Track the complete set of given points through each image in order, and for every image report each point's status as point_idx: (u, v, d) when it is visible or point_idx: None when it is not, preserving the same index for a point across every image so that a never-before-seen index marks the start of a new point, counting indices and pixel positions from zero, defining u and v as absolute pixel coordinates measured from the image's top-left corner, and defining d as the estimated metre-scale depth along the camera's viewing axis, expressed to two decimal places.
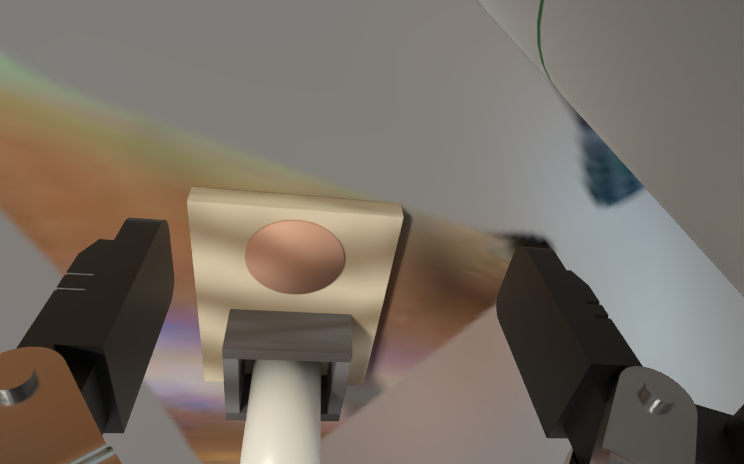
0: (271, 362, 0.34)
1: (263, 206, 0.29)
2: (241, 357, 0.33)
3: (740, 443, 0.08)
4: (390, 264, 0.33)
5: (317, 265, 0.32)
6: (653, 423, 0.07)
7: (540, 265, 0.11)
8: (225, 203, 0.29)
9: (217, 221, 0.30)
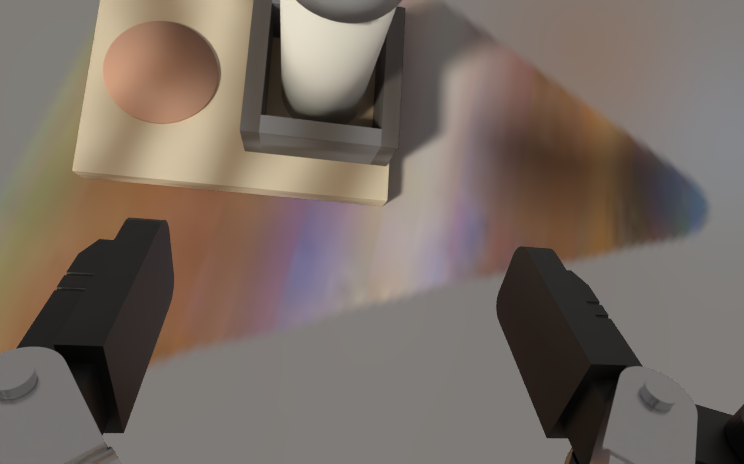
0: (284, 84, 0.27)
1: (85, 97, 0.28)
2: (257, 110, 0.26)
3: (740, 443, 0.08)
4: None
5: (169, 48, 0.29)
6: (653, 423, 0.07)
7: (540, 265, 0.11)
8: (78, 133, 0.28)
9: (103, 144, 0.28)
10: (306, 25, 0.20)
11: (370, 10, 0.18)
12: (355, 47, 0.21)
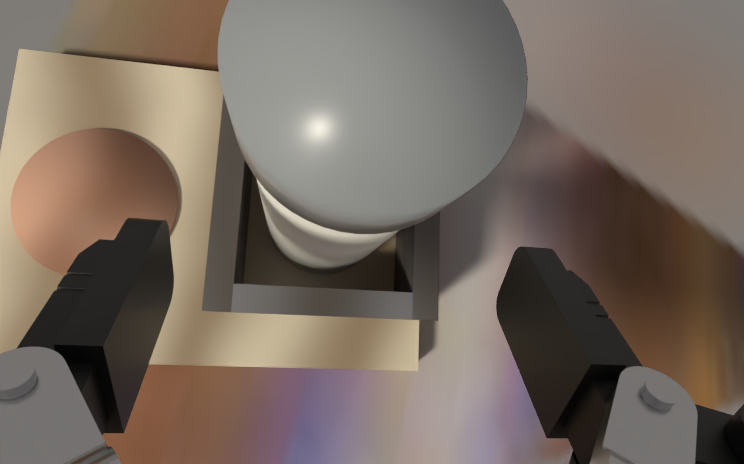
0: (269, 229, 0.19)
1: None
2: (228, 276, 0.18)
3: (740, 443, 0.08)
4: (118, 62, 0.22)
5: (108, 168, 0.21)
6: (653, 423, 0.07)
7: (540, 265, 0.11)
8: None
9: (9, 316, 0.19)
10: (295, 217, 0.11)
11: (415, 221, 0.09)
12: (380, 236, 0.12)
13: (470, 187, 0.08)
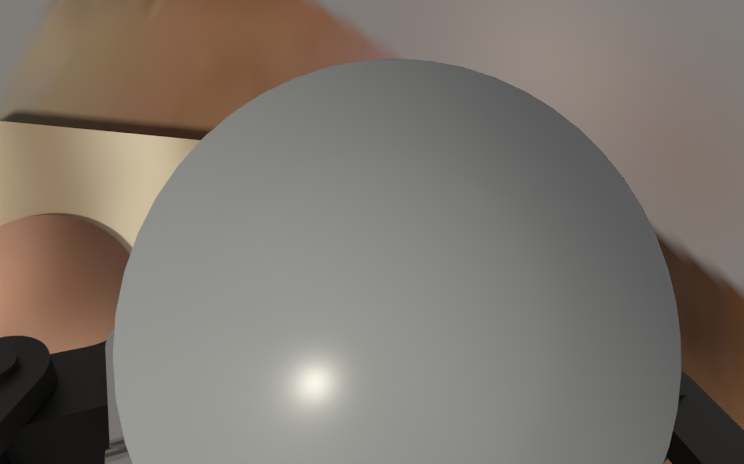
0: None
1: None
2: None
3: None
4: (74, 131, 0.18)
5: (58, 264, 0.17)
6: None
7: None
8: None
9: None
10: None
11: None
12: None
13: None
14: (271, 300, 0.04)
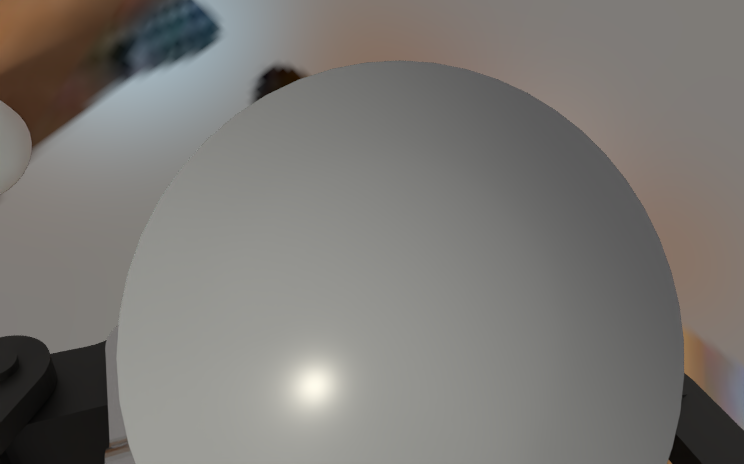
0: None
1: None
2: None
3: None
4: None
5: None
6: None
7: None
8: None
9: None
10: None
11: None
12: None
13: None
14: (274, 302, 0.04)
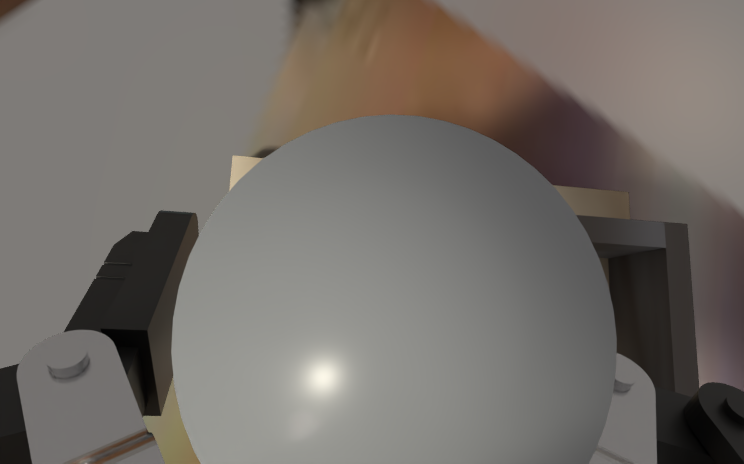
0: None
1: None
2: None
3: (699, 426, 0.08)
4: None
5: None
6: None
7: None
8: None
9: None
10: None
11: None
12: None
13: None
14: (292, 308, 0.06)
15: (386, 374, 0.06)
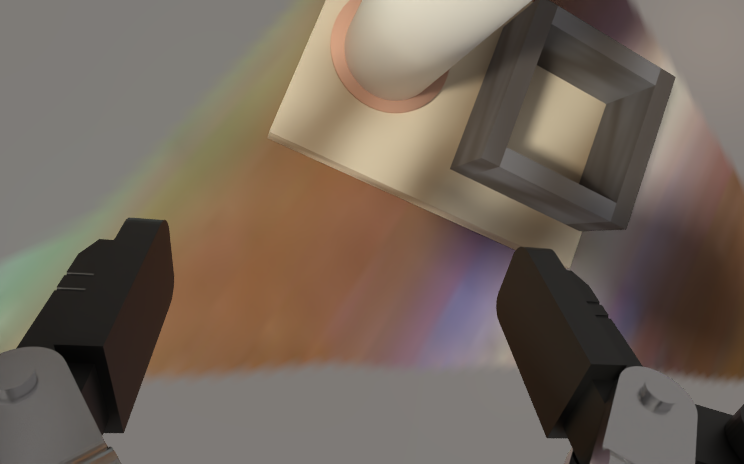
0: (358, 25, 0.21)
1: (304, 51, 0.24)
2: (504, 141, 0.23)
3: (740, 443, 0.08)
4: None
5: None
6: (653, 423, 0.07)
7: (540, 265, 0.11)
8: None
9: (309, 112, 0.24)
10: None
11: None
12: (484, 12, 0.15)
13: None
14: None
15: None
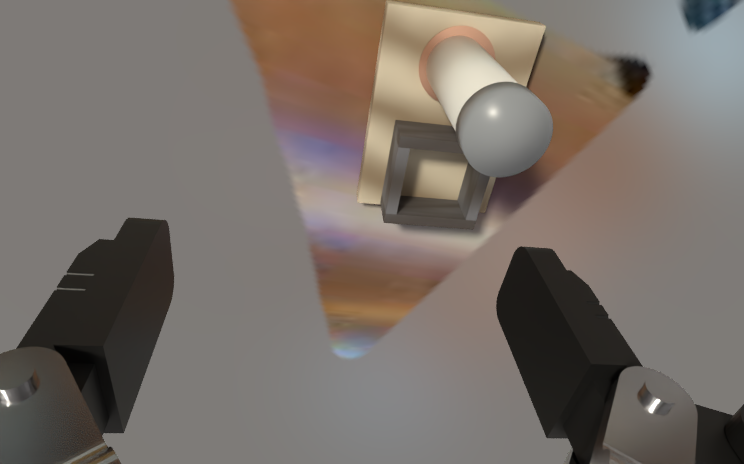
0: (457, 47, 0.37)
1: (443, 11, 0.38)
2: (413, 146, 0.41)
3: (740, 443, 0.08)
4: (528, 75, 0.42)
5: None
6: (653, 423, 0.07)
7: (540, 265, 0.11)
8: (415, 7, 0.38)
9: (406, 25, 0.39)
10: (465, 93, 0.31)
11: (458, 139, 0.30)
12: (451, 119, 0.33)
13: (466, 158, 0.30)
14: (518, 115, 0.28)
15: (500, 132, 0.29)
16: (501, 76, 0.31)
